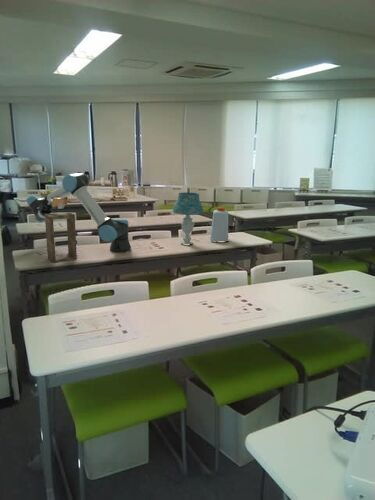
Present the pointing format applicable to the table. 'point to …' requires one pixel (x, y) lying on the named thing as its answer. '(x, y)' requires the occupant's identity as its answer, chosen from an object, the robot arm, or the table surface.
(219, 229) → the plastic bottle
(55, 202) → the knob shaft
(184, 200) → the table lamp
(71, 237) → the stand
